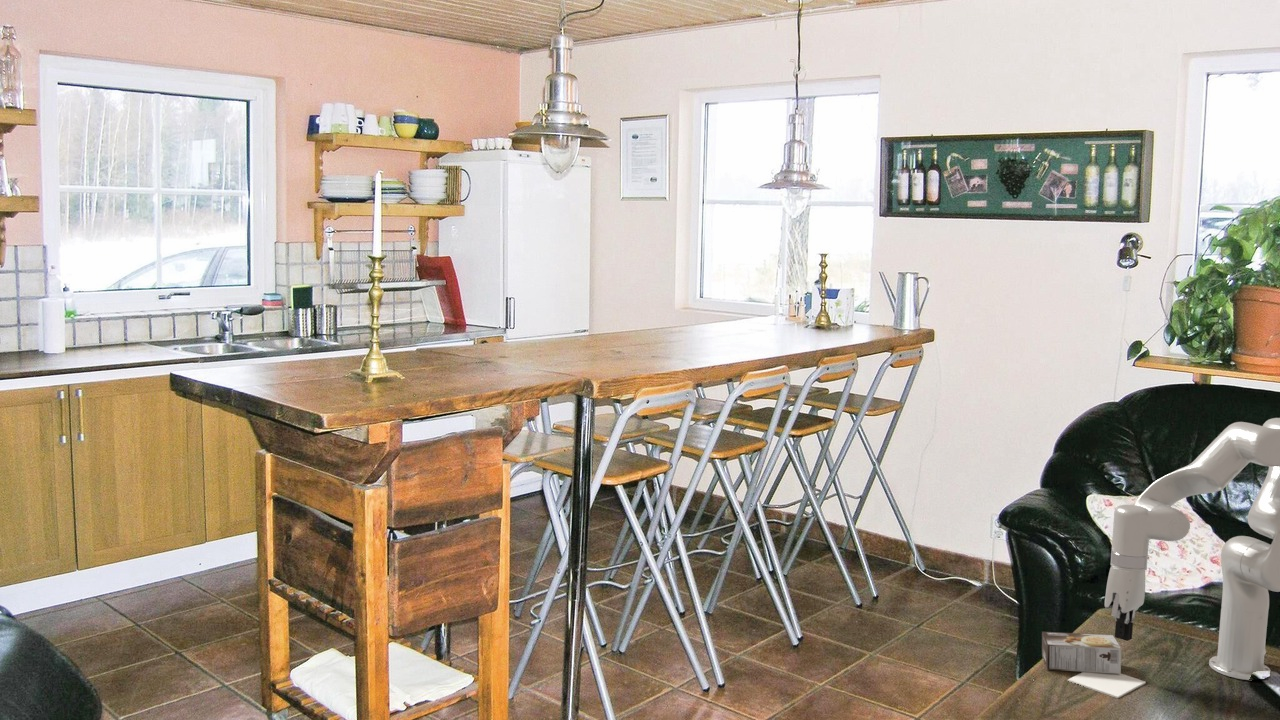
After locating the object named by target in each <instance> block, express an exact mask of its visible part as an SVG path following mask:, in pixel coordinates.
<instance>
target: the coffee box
mask: <svg viewBox="0 0 1280 720" xmlns="http://www.w3.org/2000/svg"><path fill="white" fill-rule="evenodd" d="M1041 657H1042V660H1043V659H1044V660H1043V662H1044V664H1045V667H1046V669H1047V670H1048V671H1065V672H1079V673H1080V672H1081V673H1082V672H1097V673H1114V674H1120V673H1121V674H1122V672H1121V671H1122V670H1121V669H1122V647H1121V646H1120V644H1119V643H1118V641H1117V638H1116V637H1115V635H1113V634H1097V633H1096V634H1095V633H1078V632H1077V633H1075V632H1074V633H1073V632H1055V631H1054V632H1053V631H1041Z"/></svg>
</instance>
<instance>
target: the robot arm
mask: <svg viewBox="0 0 1280 720" xmlns="http://www.w3.org/2000/svg"><path fill="white" fill-rule="evenodd" d="M1250 463H1252V464H1255V465H1259V466H1263V467H1268V470H1267V474H1266V477H1265V479H1264V481H1263V482H1262V485H1261V487H1260V489H1259V491H1258V492H1257V495H1256V497H1255V499H1254V500H1253V502H1252V504H1251V507H1250V508H1249V511H1248V514H1247V524H1248V525H1249V527H1250V529H1252V530H1253V531H1254V532H1256V533H1258V534H1259V535H1262V536H1264V537H1267V538H1269V539H1272V541H1271V544H1270V543H1268V542H1266V541H1262V540H1260V539H1257V538H1255V537H1251V536H1246V535H1237V536H1233V537H1231V538H1229V539H1228V540H1227V541H1225V543H1224V544H1223V546H1222V549H1221V552H1220V566H1221V573H1222V574H1221V575H1222V593H1221V594H1222V596H1221V597H1222V598H1221V608H1220V618H1219V619H1220V620H1219V631H1218V632H1219V633H1218V644H1217V655H1215V656H1212V657H1211V658H1209V662H1208V664H1209V667H1210V668H1211V669H1212V670H1214V671H1215V672H1217V673H1218V674H1221V675H1224V676H1227V677H1231V678H1233V679H1238V680H1244V681H1250V680H1249V679H1250V677H1251V674H1252V673H1253V672H1256V671H1271V668H1270V667H1269V666H1267V665H1265V663H1264V662H1265V655H1266V653H1267V649H1266V639H1267V629H1268V628H1267V627H1268V618H1269V609H1270V594H1269V591H1272V592H1277V593H1279V592H1280V417H1273V418H1270V419H1267V420H1266V421H1265V422H1264V423H1263V424H1262V425H1260V424H1255V423H1251V422H1246V421H1245V422H1244V421H1236V422H1233V423H1231V424H1229V425H1228V426H1226V427H1225V428H1224V429H1223V430H1222V432H1220V433H1219V434H1218V435H1217V437H1215V438H1214V439H1213V440H1212V441H1211V443H1210V444H1209V445H1208V446H1206V448H1205V449H1204V450H1203V451H1202V452H1201V453H1200V454H1198V456H1197V457H1196V458H1195V459H1194V460H1193V461H1192V462H1191V463H1189V464H1188V465H1186V466H1183V467H1180V468H1177V469H1176V470H1174V471H1172V472H1170V473H1168V474H1165V475H1164V476H1162V477H1160V478H1158V479H1157V480H1155V481H1153V482H1152V483H1151V484H1150V485H1149V486H1148V487H1147V488H1146V489H1145V490H1144V491H1143V492H1142V493H1141V494H1140V495H1139V496H1138V497H1137V498H1136V499H1135V501H1134V503H1132V504H1119V505H1118V506H1117V507H1116V508H1115V509H1114V511H1113V512H1114V513H1113V522H1112V523H1113V527H1112V538H1111V539H1112V540H1111V551H1110V552H1111V553H1110V568H1109V572H1108V576H1107V582H1106V589H1105V597H1104V607H1105V609H1112V610H1111V614H1110V615H1111V617H1112V618H1114V621H1115V629H1114V630H1115V632H1114V638H1115V639H1118V640H1119V639H1120V640H1123V641H1126V642H1129V641H1131V640H1132V638H1133V628H1134V621H1135V616H1136V611H1138V610H1139V608H1141V606H1143V605H1144V603H1145V597H1146V570H1147V569H1148V561H1149V560H1148V559H1149V557H1148V556H1149V545H1150V540H1156V541H1162V542H1178V541H1180V540H1182V539H1184V538H1186V536H1187V535H1188V534H1189V532H1190V529H1191V522H1190V520H1189V518H1188V516H1187V514H1185V513H1184V512H1183V511H1181V510H1179V509H1177V508H1174V507H1173V505H1175V504H1176V503H1177V502H1179V501H1181V500H1183V499H1186V498H1188V497H1192V496H1196V495H1197V496H1198V495H1204V494H1205V495H1206V494H1211V493H1218V492H1219V491H1223V490H1224V489H1225V488H1226V487H1227V486H1228V485H1229V483H1231V482H1232V481H1233V480H1234V478H1236V476H1238V475H1239V474H1240V473H1241V472H1242V470H1243V469H1244V468H1245V467H1246V466H1248V465H1249V464H1250Z"/></svg>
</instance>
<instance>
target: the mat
mask: <svg viewBox="0 0 1280 720" xmlns="http://www.w3.org/2000/svg"><path fill="white" fill-rule="evenodd" d="M1068 681H1069V683H1071V682H1072V684H1074V683H1076V684H1075V685H1077V684H1079V685H1078V686H1080V685H1081V686H1080V687H1083V686H1084V688H1086V689H1089V690H1092V691H1094V692H1098V693H1101V694H1104V695H1106V696H1110V697H1113V698H1116V699H1120V698H1121V697H1123V696H1125V695H1127V694H1129V693H1131V692H1132V691H1134V690H1135V689H1139V688H1140V687H1142V686H1144V685H1145V684H1147V683H1146V682H1147V681H1144V680H1142V679H1139V678H1135V677H1132V676H1129V675H1127V674H1123V673H1122V672H1121V673H1120V674H1114V673H1097V672H1081V673H1080V672H1079V673H1078V674H1077V675H1074V676H1072V677H1070V678H1068V679H1067V682H1068Z"/></svg>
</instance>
